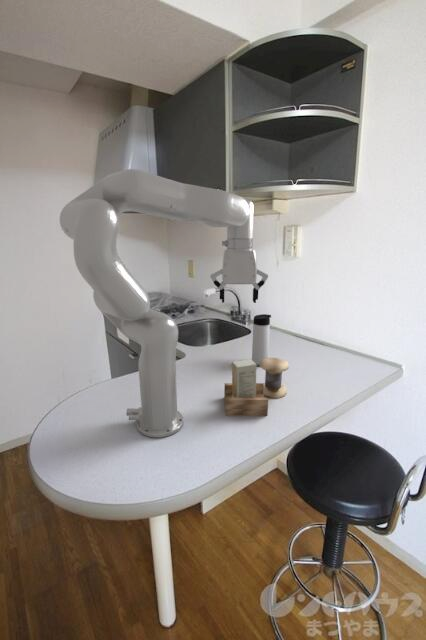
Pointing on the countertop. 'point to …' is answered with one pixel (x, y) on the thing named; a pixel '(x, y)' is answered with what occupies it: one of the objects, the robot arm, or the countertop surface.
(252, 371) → the skincare box
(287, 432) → the countertop surface
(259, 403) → the walnut stepped block
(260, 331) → the travel mug
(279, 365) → the bobbin
